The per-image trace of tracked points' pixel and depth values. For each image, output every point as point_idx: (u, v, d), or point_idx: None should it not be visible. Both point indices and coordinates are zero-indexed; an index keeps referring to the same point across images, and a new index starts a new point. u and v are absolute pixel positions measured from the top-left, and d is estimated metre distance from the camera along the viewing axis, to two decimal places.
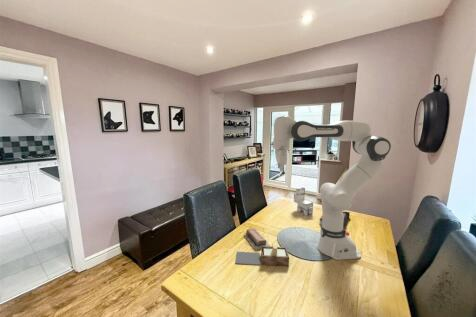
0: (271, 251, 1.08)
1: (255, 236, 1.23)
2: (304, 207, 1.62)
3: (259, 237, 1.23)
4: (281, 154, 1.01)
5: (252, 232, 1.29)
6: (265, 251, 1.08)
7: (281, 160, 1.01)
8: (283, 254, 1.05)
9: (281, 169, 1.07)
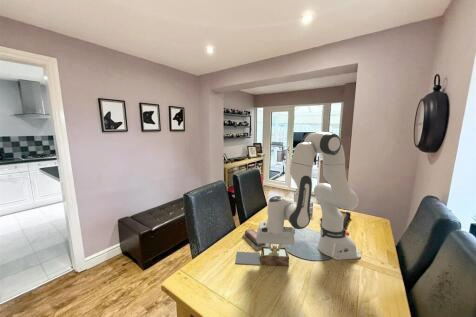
0: (271, 251, 1.08)
1: (255, 236, 1.23)
2: None
3: None
4: (293, 235, 1.04)
5: (251, 232, 1.28)
6: (265, 251, 1.08)
7: None
8: (283, 254, 1.05)
9: None
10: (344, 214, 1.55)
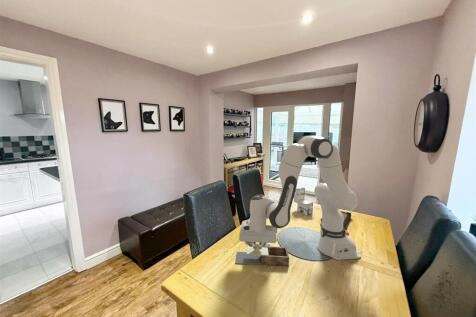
0: (254, 249, 1.08)
1: None
2: (304, 207, 1.62)
3: None
4: (275, 233, 1.04)
5: None
6: (248, 249, 1.08)
7: None
8: (265, 252, 1.06)
9: None
10: (345, 214, 1.55)
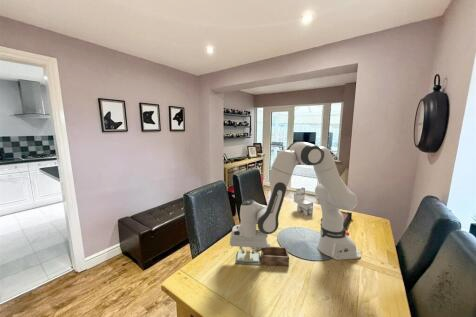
0: (245, 255, 1.10)
1: None
2: (304, 207, 1.62)
3: None
4: (265, 238, 1.05)
5: None
6: (239, 255, 1.10)
7: (266, 243, 1.06)
8: (256, 258, 1.07)
9: (254, 251, 1.08)
10: (345, 214, 1.55)
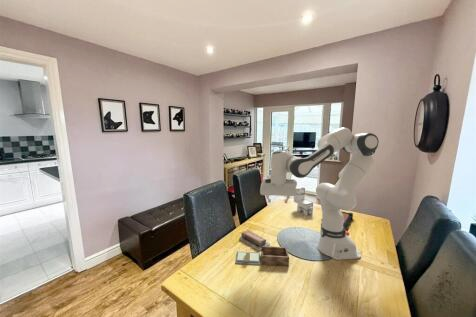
0: (245, 255, 1.10)
1: (254, 237, 1.22)
2: (304, 207, 1.62)
3: (259, 238, 1.22)
4: (295, 186, 1.10)
5: (248, 234, 1.26)
6: (239, 255, 1.10)
7: None
8: (256, 258, 1.07)
9: None
10: (346, 215, 1.54)
